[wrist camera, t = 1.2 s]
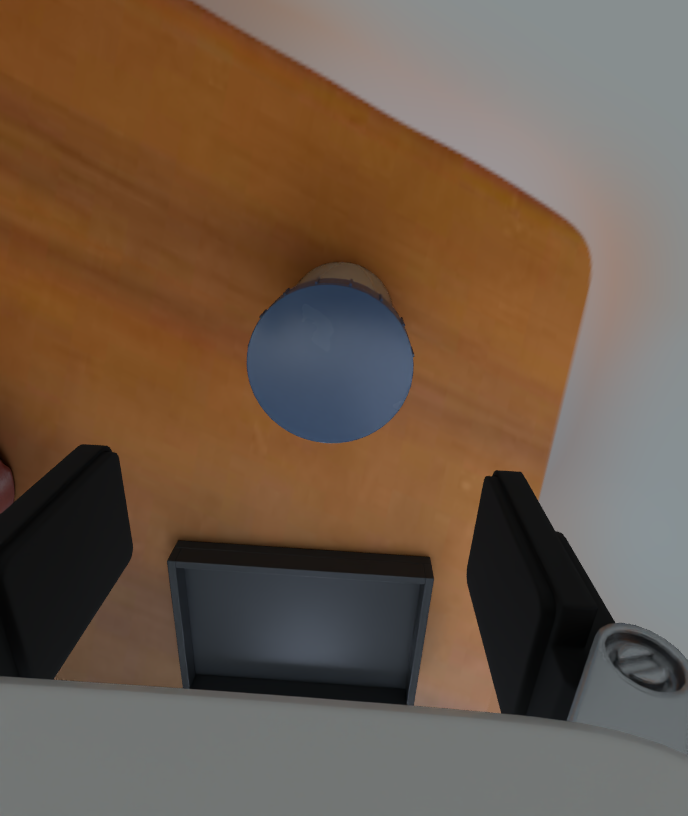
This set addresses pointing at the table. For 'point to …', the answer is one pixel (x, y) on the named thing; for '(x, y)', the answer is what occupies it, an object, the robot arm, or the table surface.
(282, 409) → the jar lid
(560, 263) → the table surface
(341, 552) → the tray
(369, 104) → the table surface
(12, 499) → the flower pot
